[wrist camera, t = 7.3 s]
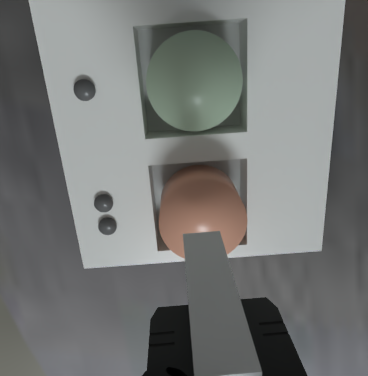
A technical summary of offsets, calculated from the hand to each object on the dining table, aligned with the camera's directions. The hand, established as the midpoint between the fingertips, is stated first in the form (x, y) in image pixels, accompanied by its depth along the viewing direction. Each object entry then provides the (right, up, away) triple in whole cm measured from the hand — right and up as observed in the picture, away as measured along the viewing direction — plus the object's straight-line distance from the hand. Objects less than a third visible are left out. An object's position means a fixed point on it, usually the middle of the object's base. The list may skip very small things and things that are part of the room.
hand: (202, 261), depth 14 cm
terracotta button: (0, +2, +5) cm, 6 cm away
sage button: (0, +9, +4) cm, 10 cm away
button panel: (0, +9, +5) cm, 11 cm away
